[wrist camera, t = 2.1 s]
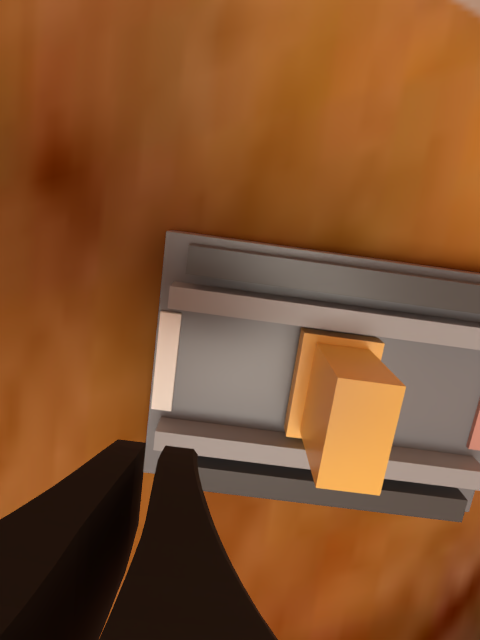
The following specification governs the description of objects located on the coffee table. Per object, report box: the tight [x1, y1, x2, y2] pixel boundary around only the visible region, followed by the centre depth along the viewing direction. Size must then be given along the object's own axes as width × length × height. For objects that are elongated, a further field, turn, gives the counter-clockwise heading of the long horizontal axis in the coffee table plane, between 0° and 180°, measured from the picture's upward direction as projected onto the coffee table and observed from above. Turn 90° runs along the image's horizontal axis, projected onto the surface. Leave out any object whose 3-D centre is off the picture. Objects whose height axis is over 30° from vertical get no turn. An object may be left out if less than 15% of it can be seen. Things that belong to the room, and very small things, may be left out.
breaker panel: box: [143, 230, 480, 522], centre depth 17 cm, size 14×10×3 cm
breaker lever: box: [284, 328, 406, 496], centre depth 15 cm, size 3×4×4 cm
